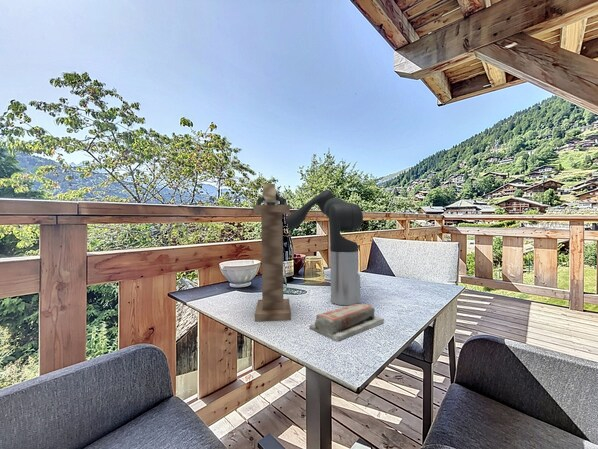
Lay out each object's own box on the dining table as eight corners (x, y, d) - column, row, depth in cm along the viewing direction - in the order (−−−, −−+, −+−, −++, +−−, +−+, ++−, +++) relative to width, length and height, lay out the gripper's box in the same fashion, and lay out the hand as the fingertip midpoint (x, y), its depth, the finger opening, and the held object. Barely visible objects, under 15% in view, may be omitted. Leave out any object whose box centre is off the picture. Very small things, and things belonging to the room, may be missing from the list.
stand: (288, 304, 87) (287, 207, 87) (291, 320, 73) (289, 204, 73) (258, 305, 86) (257, 208, 86) (254, 321, 72) (253, 205, 72)
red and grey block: (337, 322, 59) (308, 311, 67) (337, 344, 59) (309, 330, 67) (384, 306, 70) (355, 298, 78) (384, 324, 70) (355, 314, 78)
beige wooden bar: (275, 202, 111) (275, 192, 111) (275, 195, 88) (274, 183, 88) (266, 202, 111) (266, 192, 111) (262, 195, 87) (262, 183, 87)
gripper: (287, 222, 119) (288, 199, 105) (255, 222, 118) (252, 200, 103) (287, 208, 123) (287, 185, 108) (256, 208, 122) (253, 185, 107)
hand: (270, 192), depth 106 cm, fingers closed on beige wooden bar, 4 cm apart
